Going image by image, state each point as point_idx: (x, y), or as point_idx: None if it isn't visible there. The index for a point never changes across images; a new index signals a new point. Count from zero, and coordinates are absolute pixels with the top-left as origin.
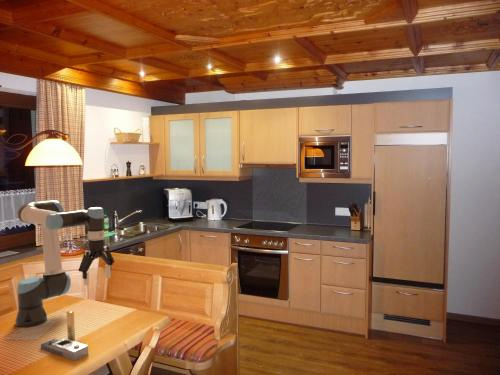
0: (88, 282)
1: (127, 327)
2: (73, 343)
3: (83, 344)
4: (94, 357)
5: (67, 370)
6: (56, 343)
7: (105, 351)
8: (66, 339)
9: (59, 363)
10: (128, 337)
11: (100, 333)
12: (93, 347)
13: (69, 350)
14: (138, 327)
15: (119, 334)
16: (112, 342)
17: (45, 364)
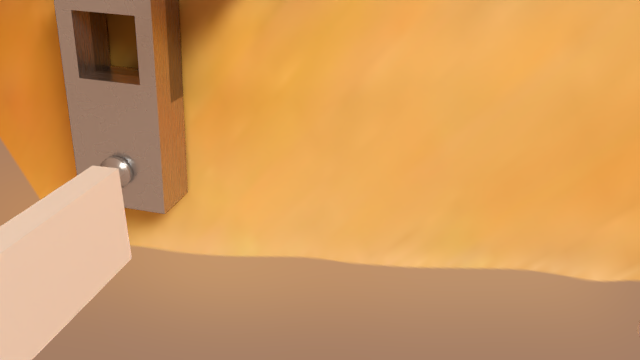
0: (91, 286)
1: (607, 154)
2: (134, 115)
3: (159, 181)
4: (186, 239)
5: None
6: (74, 9)
7: (258, 247)
8: (142, 20)
9: (56, 124)
10: (456, 258)
11: (439, 41)
12: (259, 155)
13: (76, 160)
14: (631, 227)
15: (475, 179)
16: (359, 213)
17: (10, 65)
